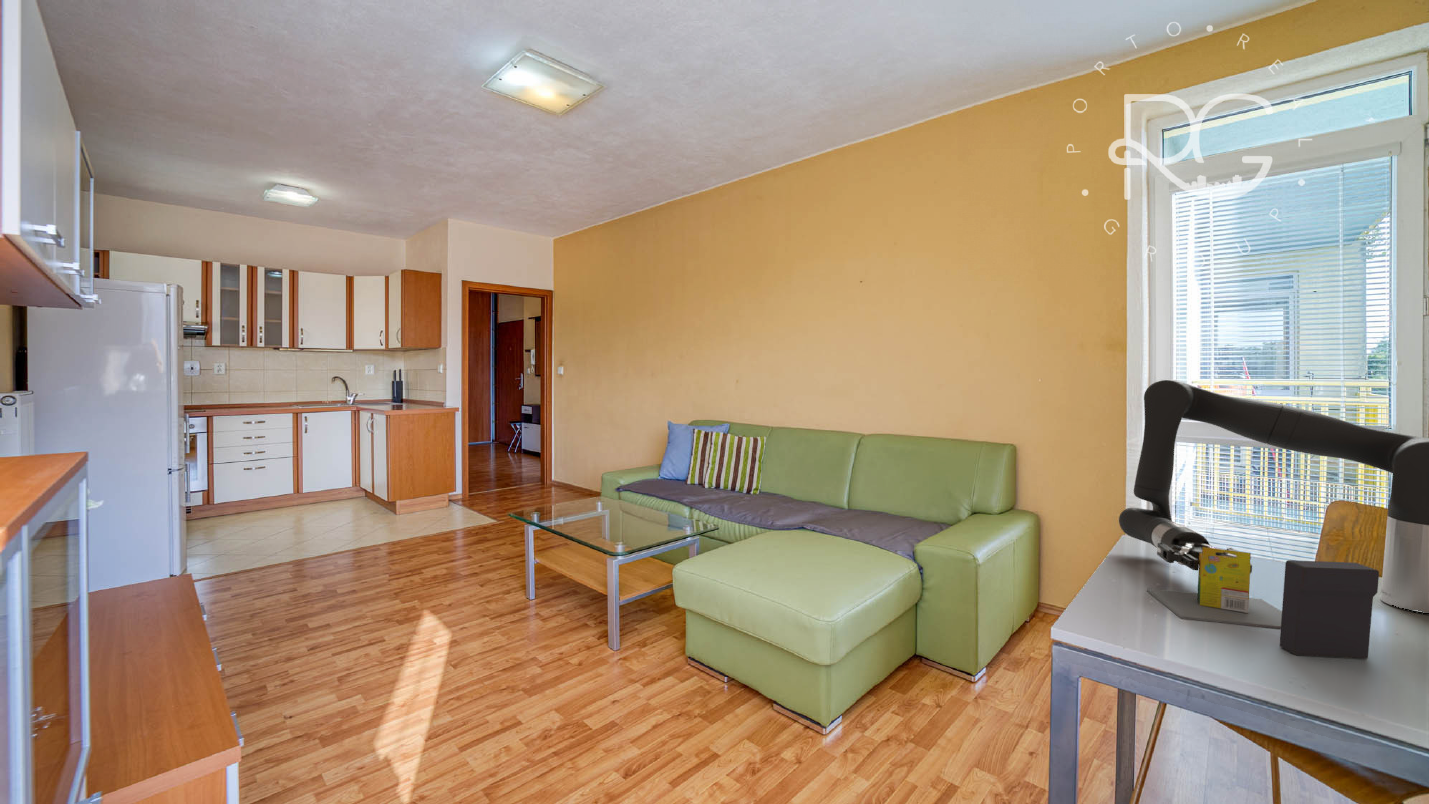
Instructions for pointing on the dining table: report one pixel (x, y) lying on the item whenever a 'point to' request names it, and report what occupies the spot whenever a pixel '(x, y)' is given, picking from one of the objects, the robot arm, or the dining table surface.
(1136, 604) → the dining table surface
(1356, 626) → the black square block
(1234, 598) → the crayon box
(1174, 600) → the mat
